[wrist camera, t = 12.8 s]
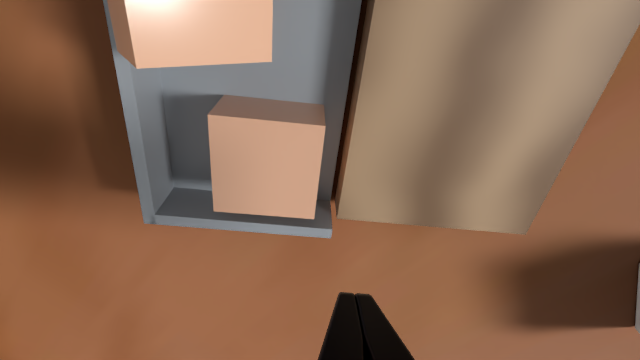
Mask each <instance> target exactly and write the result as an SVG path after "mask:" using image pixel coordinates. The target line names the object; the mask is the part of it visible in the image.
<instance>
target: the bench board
mask: <svg viewBox="0 0 640 360" xmlns="http://www.w3.org/2000/svg"><path fill="white" fill-rule="evenodd" d="M639 24H640V0H368V1H367V7H366V13H365V19H364V25H363V32H362V38H361V44H360V50H359V56H358V62H357V68H356V74H355V80H354V86H353V92H352V98H351V104H350V110H349V116H348V122H347V128H346V134H345V140H344V146H343V153H342V159H341V165H340V171H339V177H338V183H337V189H336V195H335V205H336V215H337V219H348V220H360V221H372V222H383V223H395V224H407V225H419V226H431V227H442V228H454V229H466V230H478V231H490V232H501V233H513V234H525V235H526V233H527V231H528V229H529V227H530V225H531V224H532V222H533V220H534V218H535V216H536V214H537V213H538V211H539V209H540V207H541V205H542V203H543V201H544V200H545V198H546V196H547V194H548V192H549V190H550V189H551V187H552V185H553V183H554V181H555V179H556V177H557V176H558V174H559V172H560V170H561V168H562V166H563V165H564V163H565V161H566V159H567V157H568V155H569V153H570V152H571V150H572V148H573V146H574V144H575V142H576V141H577V139H578V137H579V135H580V133H581V131H582V129H583V128H584V126H585V124H586V122H587V120H588V118H589V117H590V115H591V113H592V111H593V109H594V107H595V105H596V104H597V102H598V100H599V98H600V96H601V94H602V93H603V91H604V89H605V87H606V85H607V83H608V82H609V80H610V78H611V76H612V74H613V72H614V70H615V69H616V67H617V65H618V63H619V61H620V59H621V58H622V56H623V54H624V52H625V50H626V48H627V46H628V45H629V43H630V41H631V39H632V37H633V35H634V34H635V32H636V30H637V28H638V26H639Z"/></svg>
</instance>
